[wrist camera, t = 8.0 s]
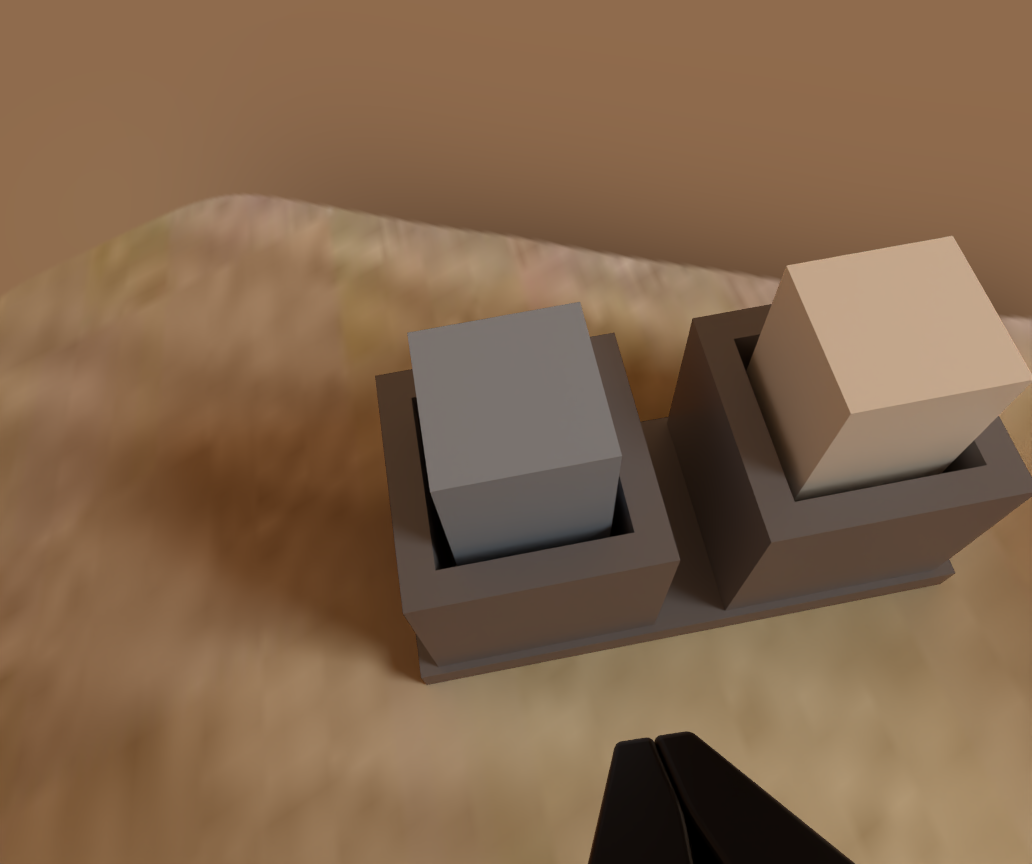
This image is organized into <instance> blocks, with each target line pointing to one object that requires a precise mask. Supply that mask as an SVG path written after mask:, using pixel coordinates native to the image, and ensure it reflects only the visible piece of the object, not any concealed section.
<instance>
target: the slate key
mask: <svg viewBox="0 0 1032 864" xmlns="http://www.w3.org/2000/svg"><path fill="white" fill-rule="evenodd" d="M407 334H408V341H409V348H410V355H411V362H412V369H413V376H414V383H415V390H416V397H417V404H418V411H419V418H420V425H421V432H422V439H423V446H424V453H425V460H426V467H427V474H428V481H429V488H430V493H431V496H432V498H433V501H434V504H435V507H436V509H437V512H438V515H439V518H440V520H441V523H442V526H443V528H444V531H445V534H446V537H447V539H448V542H449V545H450V548H451V550H452V553H453V556H454V558H455V561H456V564H457V566H462V565H467V564H472V563H478V562H483V561H488V560H493V559H499V558H504V557H509V556H514V555H519V554H525V553H530V552H535V551H540V550H546V549H551V548H556V547H561V546H567V545H572V544H577V543H582V542H587V541H593V540H598V539H603V538H608V537H610V532H611V526H612V519H613V513H614V506H615V499H616V493H617V486H618V480H619V473H620V466H621V460H622V454H621V450H620V447H619V443H618V439H617V436H616V432H615V428H614V425H613V421H612V417H611V414H610V410H609V406H608V403H607V399H606V395H605V392H604V388H603V384H602V381H601V377H600V373H599V370H598V366H597V362H596V359H595V355H594V351H593V348H592V344H591V340H590V337H589V333H588V329H587V326H586V322H585V318H584V315H583V311H582V307H581V304H580V302H576V303H571V304H565V305H560V306H554V307H549V308H543V309H537V310H532V311H526V312H521V313H515V314H509V315H504V316H498V317H493V318H487V319H482V320H476V321H470V322H465V323H459V324H454V325H448V326H443V327H437V328H431V329H426V330H420V331H415V332H409V333H407Z"/></svg>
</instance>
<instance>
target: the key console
mask: <svg viewBox="0 0 1032 864" xmlns="http://www.w3.org/2000/svg"><path fill="white" fill-rule="evenodd" d="M771 305H772V304H770V305H764V306H759V307H753V308H748V309H742V310H737V311H731V312H726V313H720V314H715V315H709V316H704V317H698V318H693V319H692V323H691V327H690V331H689V336H688V340H687V344H686V348H685V352H684V356H683V360H682V364H681V368H680V372H679V376H678V381H677V385H676V389H675V393H674V397H673V401H672V405H671V409H670V413H669V417H665V418H659V419H654V420H648V421H643V422H640V419H639V416H638V413H637V409H636V406H635V402H634V399H633V395H632V392H631V389H630V385H629V382H628V378H627V375H626V371H625V368H624V365H623V361H622V358H621V354H620V351H619V347H618V344H617V340H616V337H615V334H614V333H610V334H604V335H599V336H593V337H590V340H591V344H592V348H593V351H594V355H595V359H596V362H597V366H598V370H599V373H600V377H601V381H602V384H603V388H604V392H605V395H606V399H607V403H608V406H609V410H610V414H611V417H612V421H613V425H614V428H615V432H616V436H617V439H618V443H619V447H620V450H621V454H622V460H621V466H620V473H619V480H618V486H617V493H616V499H615V506H614V513H613V519H612V526H611V532H610V537H608V538H603V539H598V540H593V541H587V542H582V543H577V544H572V545H567V546H561V547H556V548H551V549H546V550H540V551H535V552H530V553H525V554H519V555H514V556H509V557H504V558H499V559H493V560H488V561H483V562H478V563H472V564H467V565H462V566H457V564H456V561H455V558H454V556H453V553H452V550H451V548H450V545H449V542H448V539H447V537H446V534H445V531H444V528H443V526H442V523H441V520H440V518H439V515H438V512H437V509H436V507H435V504H434V501H433V498H432V496H431V493H430V488H429V481H428V474H427V467H426V460H425V453H424V446H423V439H422V432H421V425H420V418H419V411H418V404H417V397H416V390H415V383H414V376H413V369H411V370H405V371H400V372H394V373H389V374H383V375H378V376H375V378H376V387H377V396H378V404H379V413H380V421H381V430H382V438H383V447H384V456H385V464H386V473H387V481H388V490H389V498H390V507H391V515H392V524H393V533H394V541H395V550H396V558H397V567H398V575H399V584H400V593H401V601H402V610H403V615H404V616H405V618H406V619H407V621H408V622H409V624H410V625H411V626H412V628H413V629H414V631H415V632H416V639H417V647H418V656H419V664H420V672H421V678H422V680H423V681H424V682H425V683H426V684H427V685H428V684H434V683H439V682H444V681H449V680H454V679H459V678H464V677H469V676H474V675H479V674H484V673H489V672H495V671H500V670H505V669H510V668H515V667H520V666H525V665H530V664H535V663H540V662H545V661H550V660H556V659H561V658H566V657H571V656H576V655H581V654H586V653H591V652H596V651H601V650H606V649H611V648H617V647H622V646H627V645H632V644H637V643H642V642H647V641H652V640H657V639H662V638H667V637H672V636H678V635H683V634H688V633H693V632H698V631H703V630H708V629H713V628H718V627H723V626H728V625H733V624H739V623H744V622H749V621H754V620H759V619H764V618H769V617H774V616H779V615H784V614H789V613H794V612H800V611H805V610H810V609H815V608H820V607H825V606H830V605H835V604H840V603H845V602H850V601H855V600H861V599H866V598H871V597H876V596H881V595H886V594H891V593H896V592H901V591H906V590H911V589H916V588H922V587H927V586H932V585H937V584H941V583H942V582H944V581H945V580H946V579H948V578H949V577H951V576H952V575H953V574H955V571H954V569H953V567H952V565H951V562H950V560H949V559H950V558H951V557H952V556H954V555H955V554H956V553H958V552H959V551H960V550H962V549H963V548H964V547H966V546H967V545H968V544H970V543H971V542H972V541H974V540H975V539H976V538H977V537H979V536H980V535H981V534H983V533H984V532H985V531H987V530H988V529H989V528H991V527H992V526H993V525H995V524H996V523H997V522H999V521H1000V520H1001V519H1003V518H1004V517H1005V516H1007V515H1008V514H1009V513H1011V512H1012V511H1013V510H1014V509H1016V508H1017V507H1018V506H1020V505H1021V504H1022V503H1024V502H1025V501H1026V500H1028V499H1029V498H1030V497H1032V477H1031V475H1030V473H1029V471H1028V470H1027V468H1026V466H1025V464H1024V462H1023V460H1022V458H1021V456H1020V455H1019V453H1018V451H1017V449H1016V447H1015V445H1014V443H1013V441H1012V440H1011V438H1010V436H1009V434H1008V432H1007V430H1006V428H1005V426H1004V425H1003V423H1002V421H1001V419H1000V417H999V416H998V417H997V418H996V419H995V420H994V421H993V422H992V423H991V424H990V425H989V426H988V427H987V428H986V429H985V430H984V431H983V432H982V433H981V434H980V435H979V436H978V437H977V438H976V439H975V440H974V441H973V442H972V443H971V444H970V445H969V446H968V447H967V448H966V449H965V450H964V451H963V452H962V453H961V454H960V455H959V456H958V457H957V458H956V459H955V460H954V461H953V462H952V463H951V464H950V465H949V466H948V467H947V468H946V469H945V470H944V471H943V472H942V473H941V474H938V475H933V476H927V477H922V478H917V479H912V480H906V481H901V482H896V483H891V484H886V485H880V486H875V487H870V488H865V489H859V490H854V491H849V492H844V493H839V494H833V495H828V496H823V497H818V498H812V499H807V500H802V501H797V502H795V501H794V499H793V496H792V493H791V491H790V488H789V485H788V483H787V480H786V477H785V475H784V472H783V469H782V467H781V464H780V461H779V459H778V456H777V453H776V451H775V448H774V445H773V443H772V440H771V437H770V435H769V432H768V429H767V427H766V424H765V421H764V419H763V416H762V413H761V411H760V408H759V405H758V403H757V400H756V397H755V395H754V392H753V389H752V387H751V384H750V381H749V379H748V376H747V373H746V370H747V368H748V365H749V363H750V360H751V357H752V355H753V352H754V349H755V347H756V344H757V342H758V339H759V336H760V334H761V331H762V329H763V326H764V323H765V321H766V318H767V315H768V313H769V310H770V308H771Z"/></svg>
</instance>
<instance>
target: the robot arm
mask: <svg viewBox="0 0 1032 864" xmlns="http://www.w3.org/2000/svg"><path fill="white" fill-rule="evenodd" d="M588 864H855V863H854V862H852V861H851V860H850V859H849V858H847V857H846V856H845V855H844V854H842V853H841V852H840V851H839V850H837V849H836V848H835V847H834V846H833V845H831V844H830V843H829V842H828V841H826V840H825V839H824V838H823V837H821V836H820V835H819V834H818V833H816V832H815V831H814V830H813V829H811V828H810V827H809V826H808V825H807V824H805V823H804V822H803V821H802V820H800V819H799V818H798V817H797V816H795V815H794V814H793V813H792V812H790V811H789V810H788V809H787V808H786V807H784V806H783V805H782V804H781V803H779V802H778V801H777V800H776V799H774V798H773V797H772V796H771V795H769V794H768V793H767V792H766V791H764V790H763V789H762V788H761V787H760V786H758V785H757V784H756V783H755V782H753V781H752V780H751V779H750V778H748V777H747V776H746V775H745V774H743V773H742V772H741V771H740V770H738V769H737V768H736V767H735V766H734V765H732V764H731V763H730V762H729V761H727V760H726V759H725V758H724V757H722V756H721V755H720V754H719V753H717V752H716V751H715V750H714V749H712V748H711V747H710V746H709V745H708V744H706V743H705V742H704V741H703V740H701V739H700V738H699V737H698V736H696V735H695V734H694V733H691V732H679V733H673V734H666V735H660V736H658V737H657V738H656V739H655V742H654V741H653V740H652V739H650V738H640V739H634V740H627V741H621V742H619V743H617V744H616V746H615V748H614V752H613V756H612V761H611V765H610V770H609V774H608V778H607V783H606V787H605V791H604V796H603V800H602V805H601V809H600V813H599V818H598V822H597V826H596V831H595V835H594V840H593V844H592V848H591V853H590V857H589V861H588Z"/></svg>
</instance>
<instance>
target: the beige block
mask: <svg viewBox="0 0 1032 864" xmlns="http://www.w3.org/2000/svg"><path fill="white" fill-rule="evenodd" d="M746 373H747V376H748V379H749V381H750V384H751V387H752V389H753V392H754V395H755V397H756V400H757V403H758V405H759V408H760V411H761V413H762V416H763V419H764V421H765V424H766V427H767V429H768V432H769V435H770V437H771V440H772V443H773V445H774V448H775V451H776V453H777V456H778V459H779V461H780V464H781V467H782V469H783V472H784V475H785V477H786V480H787V483H788V485H789V488H790V491H791V493H792V496H793V499H794V501H795V502H797V501H802V500H807V499H812V498H818V497H823V496H828V495H833V494H839V493H844V492H849V491H854V490H859V489H865V488H870V487H875V486H880V485H886V484H891V483H896V482H901V481H906V480H912V479H917V478H922V477H927V476H933V475H938V474H941V473H942V472H943V471H944V470H945V469H946V468H947V467H948V466H949V465H950V464H951V463H952V462H953V461H954V460H955V459H956V458H957V457H958V456H959V455H960V454H961V453H962V452H963V451H964V450H965V449H966V448H967V447H968V446H969V445H970V444H971V443H972V442H973V441H974V440H975V439H976V438H977V437H978V436H979V435H980V434H981V433H982V432H983V431H984V430H985V429H986V428H987V427H988V426H989V425H990V424H991V423H992V422H993V421H994V420H995V419H996V418H997V417H998V416H999V415H1000V414H1001V413H1002V412H1003V411H1004V410H1005V409H1006V408H1007V407H1008V406H1009V405H1010V404H1011V403H1012V402H1013V401H1014V400H1015V399H1016V398H1017V397H1018V396H1019V395H1020V394H1021V393H1022V392H1023V391H1024V390H1025V389H1026V388H1027V387H1028V386H1029V385H1030V384H1031V383H1032V373H1031V372H1030V370H1029V368H1028V366H1027V365H1026V363H1025V361H1024V359H1023V358H1022V356H1021V354H1020V352H1019V351H1018V349H1017V347H1016V345H1015V344H1014V342H1013V340H1012V338H1011V337H1010V335H1009V333H1008V331H1007V330H1006V328H1005V326H1004V324H1003V323H1002V321H1001V319H1000V318H999V316H998V314H997V312H996V311H995V309H994V307H993V305H992V304H991V302H990V300H989V298H988V297H987V295H986V293H985V291H984V290H983V288H982V286H981V284H980V283H979V281H978V279H977V277H976V276H975V274H974V272H973V271H972V269H971V267H970V265H969V263H968V262H967V260H966V258H965V256H964V255H963V253H962V251H961V249H960V248H959V246H958V244H957V242H956V241H955V239H954V237H953V236H950V237H944V238H939V239H933V240H928V241H921V242H916V243H910V244H905V245H899V246H894V247H888V248H882V249H877V250H872V251H866V252H860V253H855V254H849V255H843V256H838V257H833V258H827V259H821V260H816V261H810V262H804V263H799V264H794V265H788V266H786V268H785V271H784V274H783V276H782V279H781V282H780V284H779V287H778V289H777V292H776V295H775V297H774V300H773V302H772V305H771V308H770V310H769V313H768V315H767V318H766V321H765V323H764V326H763V329H762V331H761V334H760V336H759V339H758V342H757V344H756V347H755V349H754V352H753V355H752V357H751V360H750V363H749V365H748V368H747V370H746Z"/></svg>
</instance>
